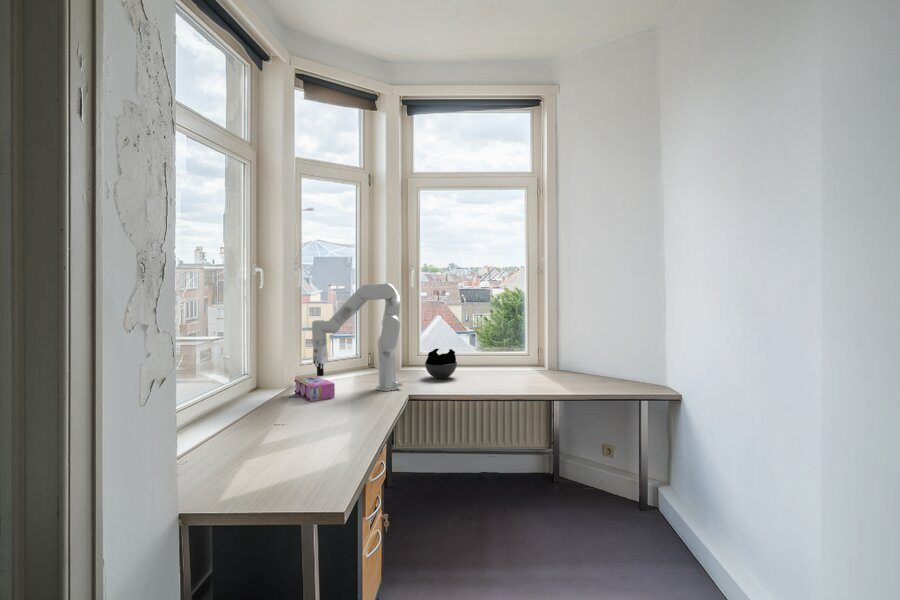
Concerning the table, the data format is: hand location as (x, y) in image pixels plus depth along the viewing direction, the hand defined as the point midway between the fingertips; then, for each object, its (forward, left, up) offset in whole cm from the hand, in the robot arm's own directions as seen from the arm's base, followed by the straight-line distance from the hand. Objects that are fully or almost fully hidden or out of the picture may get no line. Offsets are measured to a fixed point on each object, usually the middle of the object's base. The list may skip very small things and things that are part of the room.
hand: (320, 375), depth 278 cm
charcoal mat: (+5, 0, -10) cm, 11 cm away
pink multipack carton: (-5, +3, -5) cm, 8 cm away
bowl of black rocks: (-59, -46, -10) cm, 75 cm away
